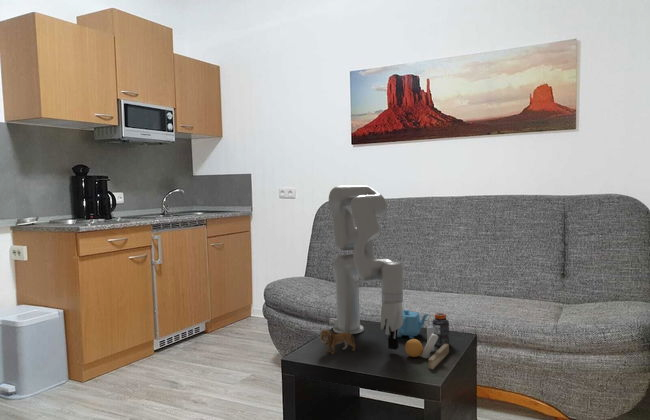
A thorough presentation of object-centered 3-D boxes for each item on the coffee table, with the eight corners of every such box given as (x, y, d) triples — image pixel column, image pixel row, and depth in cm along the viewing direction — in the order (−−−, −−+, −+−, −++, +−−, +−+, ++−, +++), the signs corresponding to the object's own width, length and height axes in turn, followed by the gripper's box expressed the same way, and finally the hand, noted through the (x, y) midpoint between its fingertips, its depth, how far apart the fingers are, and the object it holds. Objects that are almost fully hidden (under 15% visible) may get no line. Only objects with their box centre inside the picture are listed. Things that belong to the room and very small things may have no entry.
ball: (419, 344, 159) (418, 361, 160) (425, 339, 164) (424, 355, 165) (402, 339, 163) (401, 356, 163) (409, 335, 168) (408, 351, 168)
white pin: (419, 354, 162) (431, 334, 160) (422, 353, 164) (433, 332, 162) (425, 359, 161) (437, 338, 159) (428, 357, 163) (439, 336, 161)
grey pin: (426, 351, 169) (426, 327, 169) (428, 349, 171) (428, 325, 171) (433, 352, 168) (432, 328, 168) (435, 350, 170) (434, 326, 170)
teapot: (380, 337, 186) (380, 312, 185) (390, 328, 199) (389, 304, 198) (427, 342, 179) (426, 316, 178) (433, 332, 192) (433, 307, 191)
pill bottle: (448, 341, 179) (447, 311, 179) (450, 346, 173) (450, 315, 173) (431, 341, 180) (431, 311, 180) (433, 346, 174) (433, 315, 174)
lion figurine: (324, 357, 165) (323, 332, 165) (317, 353, 170) (316, 328, 170) (360, 350, 172) (359, 325, 172) (352, 346, 177) (352, 322, 176)
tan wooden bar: (428, 368, 152) (428, 359, 152) (444, 351, 168) (444, 343, 168) (433, 369, 152) (432, 360, 152) (449, 352, 167) (448, 344, 167)
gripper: (390, 292, 176) (391, 341, 176) (373, 300, 163) (374, 353, 164) (409, 293, 172) (410, 343, 173) (394, 302, 159) (395, 356, 160)
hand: (393, 348), depth 168 cm, fingers closed
